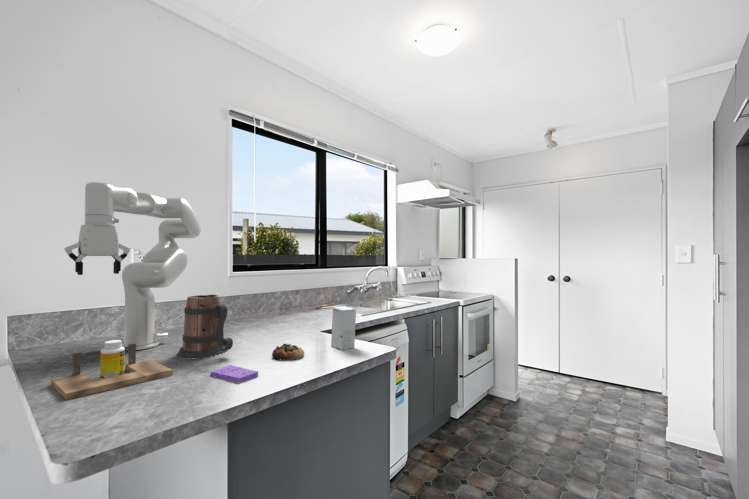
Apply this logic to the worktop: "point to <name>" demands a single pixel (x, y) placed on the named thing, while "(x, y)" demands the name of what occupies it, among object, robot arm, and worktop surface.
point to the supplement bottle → (112, 359)
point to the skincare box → (343, 327)
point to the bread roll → (287, 352)
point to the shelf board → (85, 385)
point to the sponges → (234, 373)
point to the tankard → (204, 328)
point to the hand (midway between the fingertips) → (98, 274)
